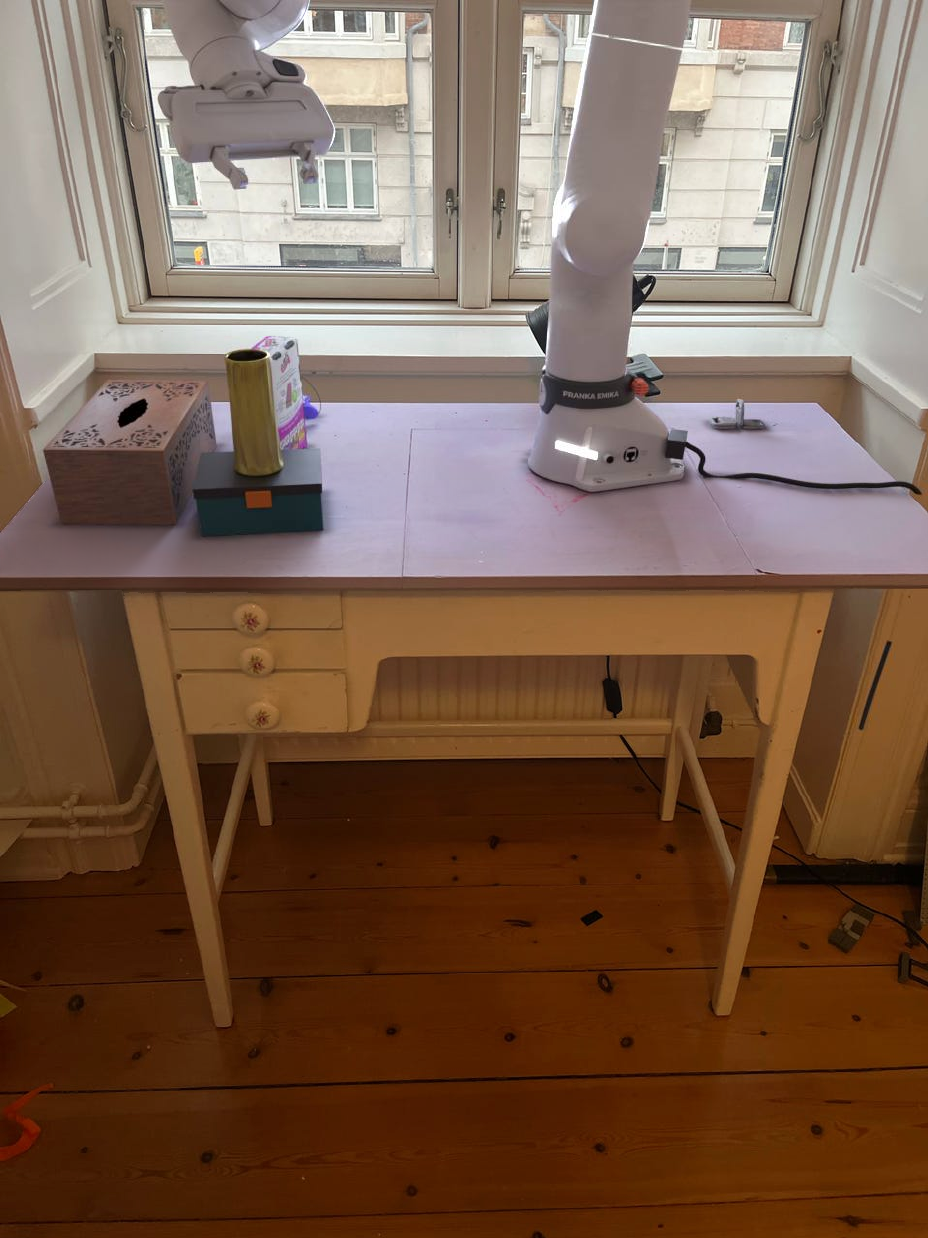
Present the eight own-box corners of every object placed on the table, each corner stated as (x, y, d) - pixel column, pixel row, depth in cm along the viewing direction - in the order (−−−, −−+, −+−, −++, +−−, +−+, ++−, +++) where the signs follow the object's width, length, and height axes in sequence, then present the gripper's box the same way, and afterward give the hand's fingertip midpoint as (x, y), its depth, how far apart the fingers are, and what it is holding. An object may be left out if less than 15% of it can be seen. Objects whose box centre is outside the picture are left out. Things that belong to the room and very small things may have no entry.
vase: (293, 467, 117) (283, 355, 109) (253, 481, 113) (240, 366, 106) (264, 453, 121) (252, 344, 113) (224, 467, 117) (209, 354, 109)
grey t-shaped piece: (713, 429, 149) (718, 403, 146) (708, 422, 151) (712, 397, 149) (765, 429, 149) (770, 403, 147) (759, 422, 152) (764, 396, 149)
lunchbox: (323, 491, 127) (320, 446, 123) (325, 532, 116) (321, 485, 113) (207, 496, 125) (201, 451, 121) (199, 539, 114) (191, 491, 111)
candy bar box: (277, 443, 141) (266, 334, 132) (308, 446, 140) (299, 336, 131) (248, 472, 131) (234, 357, 123) (281, 475, 131) (270, 360, 122)
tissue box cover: (119, 445, 139) (107, 380, 133) (216, 446, 139) (207, 380, 134) (61, 523, 117) (42, 449, 112) (176, 524, 118) (163, 450, 112)
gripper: (155, 66, 106) (201, 170, 105) (314, 65, 117) (357, 160, 115) (148, 107, 112) (191, 207, 110) (300, 103, 122) (341, 194, 121)
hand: (277, 183), depth 113 cm, fingers open, 8 cm apart
